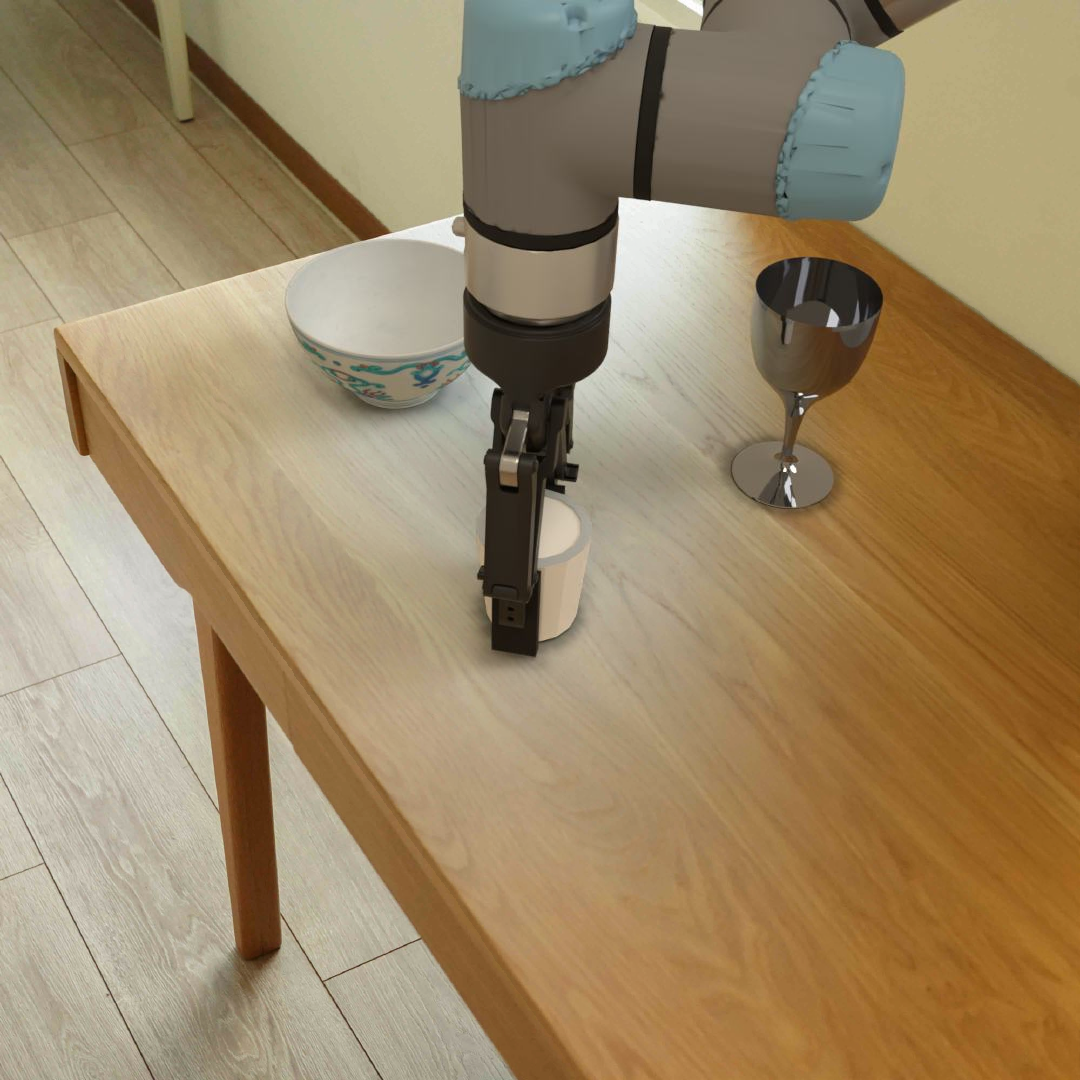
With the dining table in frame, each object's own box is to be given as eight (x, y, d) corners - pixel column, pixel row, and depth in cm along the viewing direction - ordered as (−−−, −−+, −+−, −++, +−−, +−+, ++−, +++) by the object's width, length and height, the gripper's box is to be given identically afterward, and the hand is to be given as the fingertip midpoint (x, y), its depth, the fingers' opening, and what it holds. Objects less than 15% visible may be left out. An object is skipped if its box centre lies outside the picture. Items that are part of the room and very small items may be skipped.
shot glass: (607, 598, 84) (615, 516, 80) (546, 666, 80) (550, 583, 75) (517, 554, 87) (519, 471, 82) (453, 617, 83) (451, 534, 78)
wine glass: (853, 457, 96) (897, 275, 85) (821, 525, 90) (864, 340, 80) (746, 426, 98) (777, 245, 88) (709, 490, 93) (737, 306, 82)
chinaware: (255, 373, 101) (243, 284, 96) (414, 302, 108) (411, 217, 103) (375, 473, 93) (369, 383, 88) (538, 390, 100) (541, 302, 95)
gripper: (506, 183, 75) (502, 492, 91) (413, 393, 61) (428, 716, 77) (639, 199, 74) (612, 509, 90) (576, 416, 60) (557, 738, 76)
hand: (527, 604), depth 83 cm, fingers closed on shot glass, 7 cm apart
